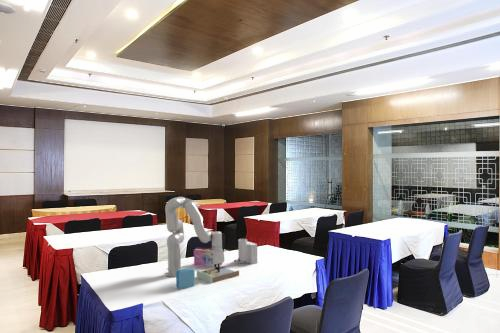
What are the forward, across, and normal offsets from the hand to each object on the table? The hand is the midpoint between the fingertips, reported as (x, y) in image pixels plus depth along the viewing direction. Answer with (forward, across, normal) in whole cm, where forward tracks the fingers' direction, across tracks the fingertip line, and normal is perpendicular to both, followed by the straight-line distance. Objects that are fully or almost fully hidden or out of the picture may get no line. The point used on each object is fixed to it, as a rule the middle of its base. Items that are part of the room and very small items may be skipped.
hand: (217, 272), depth 265 cm
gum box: (+4, +13, +31) cm, 34 cm away
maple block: (+1, -5, -1) cm, 5 cm away
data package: (+3, -30, -3) cm, 30 cm away
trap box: (+3, +1, 0) cm, 3 cm away
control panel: (+4, +39, +15) cm, 42 cm away
